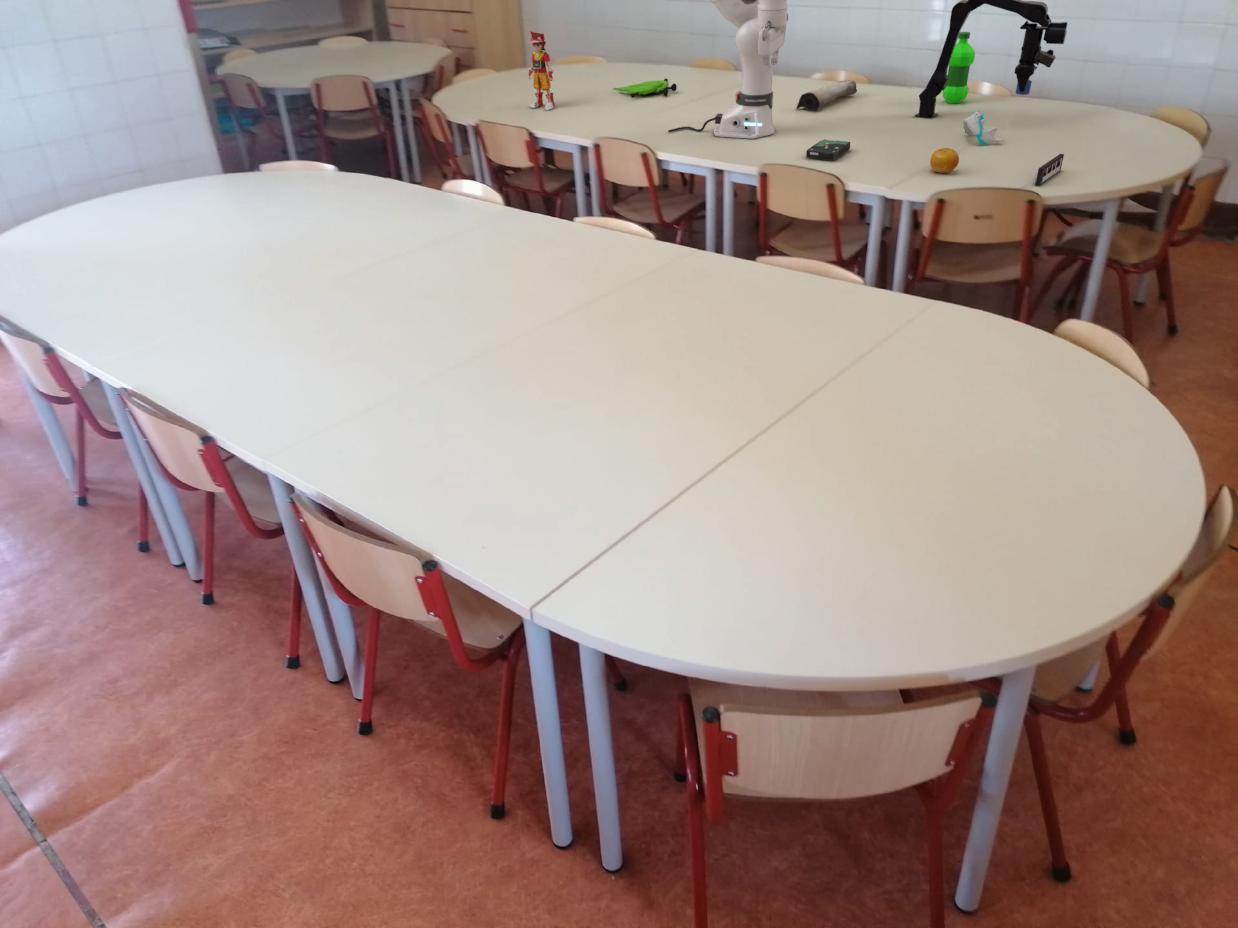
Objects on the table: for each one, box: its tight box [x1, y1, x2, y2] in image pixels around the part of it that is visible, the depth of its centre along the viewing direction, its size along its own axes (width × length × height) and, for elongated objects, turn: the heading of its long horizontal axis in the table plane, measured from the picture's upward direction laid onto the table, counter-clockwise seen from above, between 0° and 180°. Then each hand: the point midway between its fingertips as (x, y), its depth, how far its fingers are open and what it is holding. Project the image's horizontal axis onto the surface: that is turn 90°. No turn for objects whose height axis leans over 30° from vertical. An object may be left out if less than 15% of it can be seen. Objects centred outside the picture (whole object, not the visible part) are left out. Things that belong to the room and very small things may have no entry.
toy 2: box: [612, 78, 677, 99], centre depth 396 cm, size 28×5×30 cm
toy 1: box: [527, 31, 556, 111], centre depth 374 cm, size 12×9×30 cm
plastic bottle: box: [942, 31, 976, 104], centre depth 348 cm, size 10×10×25 cm
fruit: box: [929, 147, 960, 174], centre depth 283 cm, size 8×8×8 cm
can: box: [1015, 79, 1033, 96], centre depth 321 cm, size 5×5×4 cm
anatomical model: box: [962, 110, 1003, 146], centre depth 309 cm, size 15×10×10 cm
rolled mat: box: [796, 79, 858, 112], centre depth 363 cm, size 30×9×10 cm
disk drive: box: [805, 138, 851, 161], centre depth 306 cm, size 10×3×15 cm
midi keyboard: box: [1035, 153, 1065, 186], centre depth 273 cm, size 18×1×5 cm, turn 138°
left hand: (770, 67), depth 282 cm, fingers open, 8 cm apart
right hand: (1022, 90), depth 321 cm, fingers closed on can, 5 cm apart
